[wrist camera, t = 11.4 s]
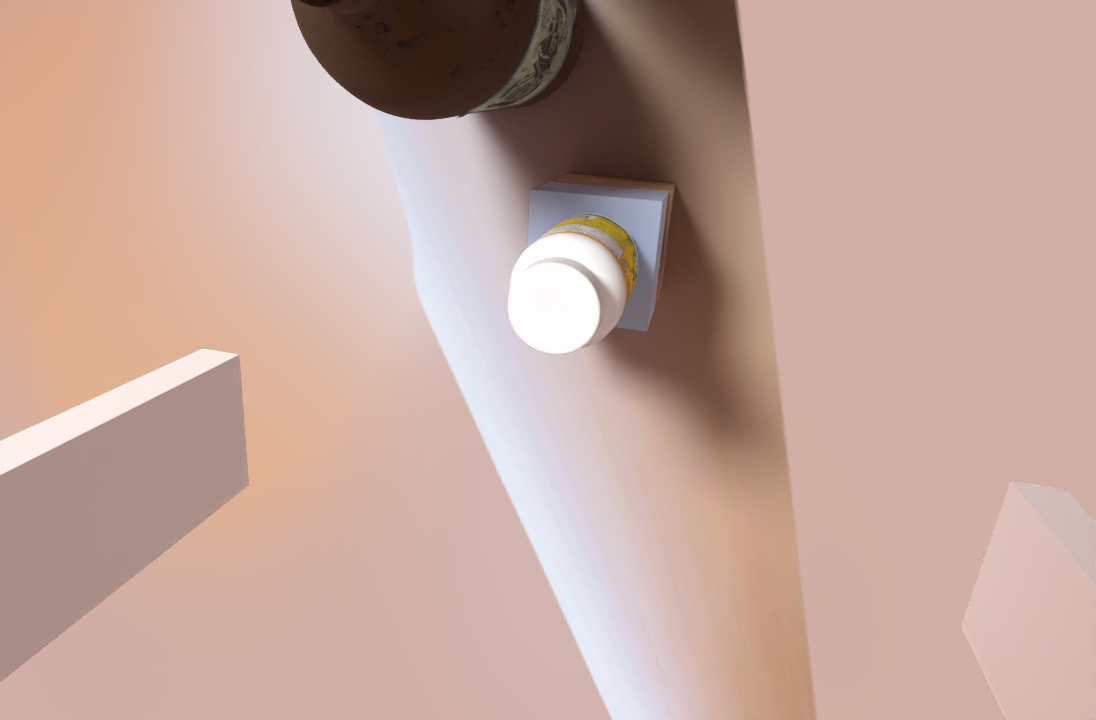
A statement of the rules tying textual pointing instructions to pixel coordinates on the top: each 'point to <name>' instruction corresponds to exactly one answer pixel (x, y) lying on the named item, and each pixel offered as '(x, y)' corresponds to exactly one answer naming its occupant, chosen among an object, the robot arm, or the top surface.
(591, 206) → the slate block
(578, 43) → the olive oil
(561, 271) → the supplement bottle
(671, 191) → the wooden block
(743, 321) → the top surface
